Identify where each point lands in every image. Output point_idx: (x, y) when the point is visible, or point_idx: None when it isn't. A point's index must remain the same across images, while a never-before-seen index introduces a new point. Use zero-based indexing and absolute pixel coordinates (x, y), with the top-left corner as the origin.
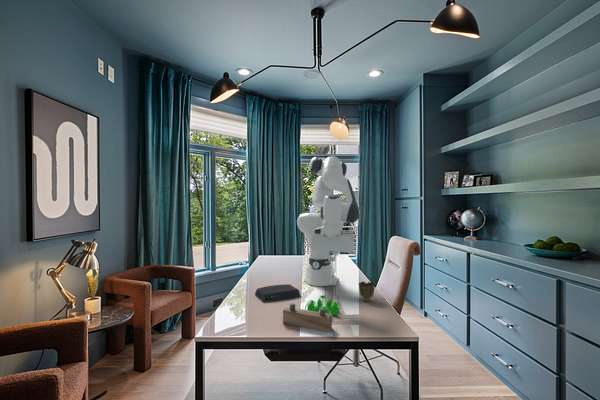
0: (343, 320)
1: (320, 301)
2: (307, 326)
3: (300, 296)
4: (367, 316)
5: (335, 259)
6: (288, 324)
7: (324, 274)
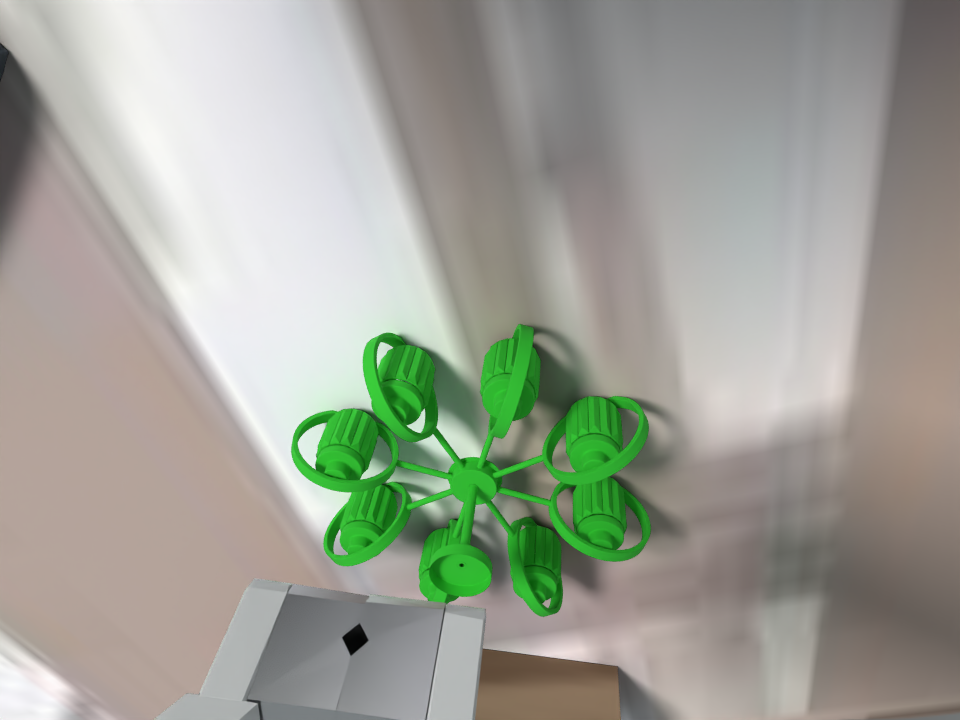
0: (691, 558)
1: (417, 439)
2: None
3: (7, 53)
4: (932, 444)
5: (480, 653)
6: None
7: None
